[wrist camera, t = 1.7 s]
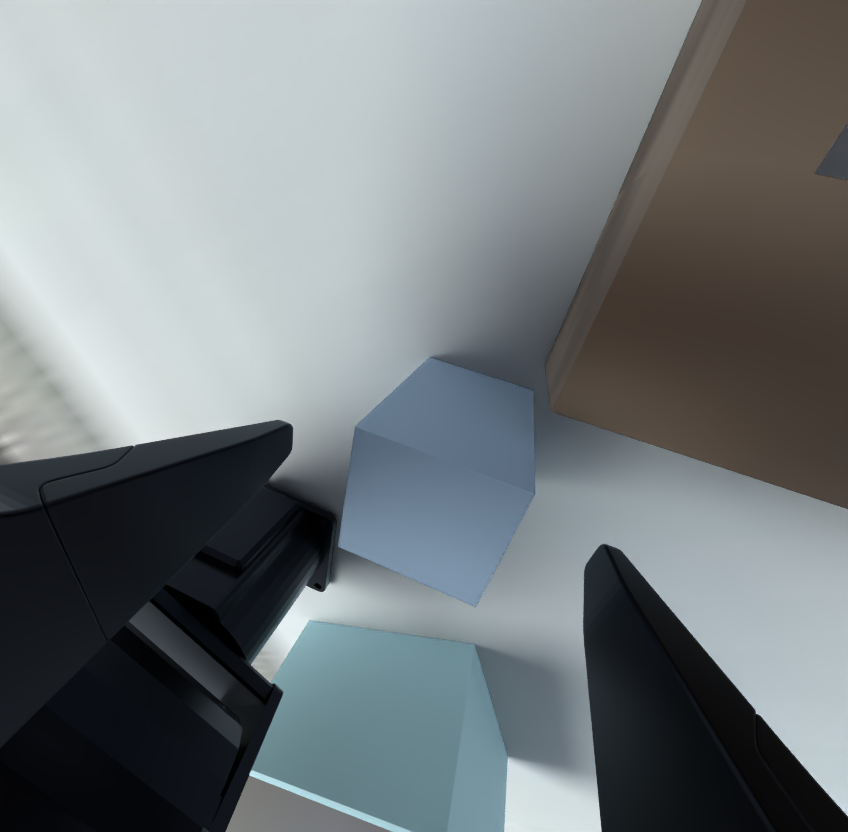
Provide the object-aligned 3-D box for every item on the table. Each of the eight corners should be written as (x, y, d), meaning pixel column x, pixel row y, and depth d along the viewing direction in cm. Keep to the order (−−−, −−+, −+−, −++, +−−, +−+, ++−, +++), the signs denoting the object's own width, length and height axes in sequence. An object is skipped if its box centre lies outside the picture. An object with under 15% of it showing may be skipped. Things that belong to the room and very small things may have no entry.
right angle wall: (310, 619, 23) (223, 758, 17) (474, 642, 19) (444, 844, 12) (362, 717, 27) (309, 859, 21) (507, 754, 23) (498, 949, 16)
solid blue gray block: (497, 475, 14) (475, 607, 8) (408, 442, 14) (338, 546, 9) (533, 390, 12) (535, 493, 6) (430, 357, 12) (355, 426, 7)
